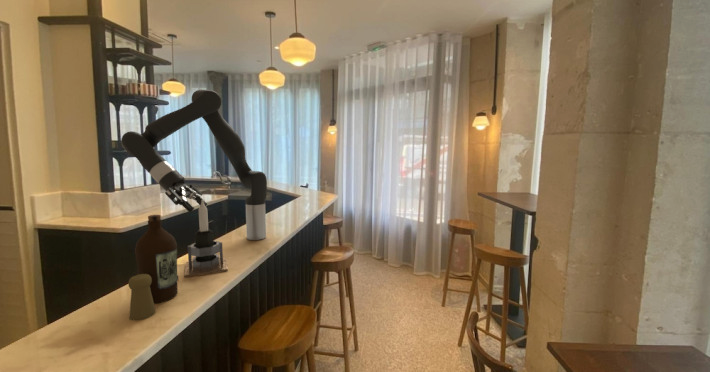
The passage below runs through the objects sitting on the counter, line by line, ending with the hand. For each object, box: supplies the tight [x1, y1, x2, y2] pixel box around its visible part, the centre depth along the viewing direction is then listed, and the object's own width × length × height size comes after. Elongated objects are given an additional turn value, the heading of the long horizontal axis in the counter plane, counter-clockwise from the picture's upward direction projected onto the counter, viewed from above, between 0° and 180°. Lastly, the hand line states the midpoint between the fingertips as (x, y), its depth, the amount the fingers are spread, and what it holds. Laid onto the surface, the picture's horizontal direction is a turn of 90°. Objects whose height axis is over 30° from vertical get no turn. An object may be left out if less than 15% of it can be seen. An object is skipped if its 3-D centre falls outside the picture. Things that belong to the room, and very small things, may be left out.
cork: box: [127, 274, 157, 321], centre depth 86 cm, size 6×6×11 cm
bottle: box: [194, 199, 215, 261], centre depth 119 cm, size 5×5×25 cm
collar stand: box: [183, 240, 228, 278], centre depth 120 cm, size 14×14×9 cm
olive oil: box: [134, 214, 179, 304], centre depth 96 cm, size 11×11×25 cm
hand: (199, 208), depth 118 cm, fingers open, 8 cm apart
